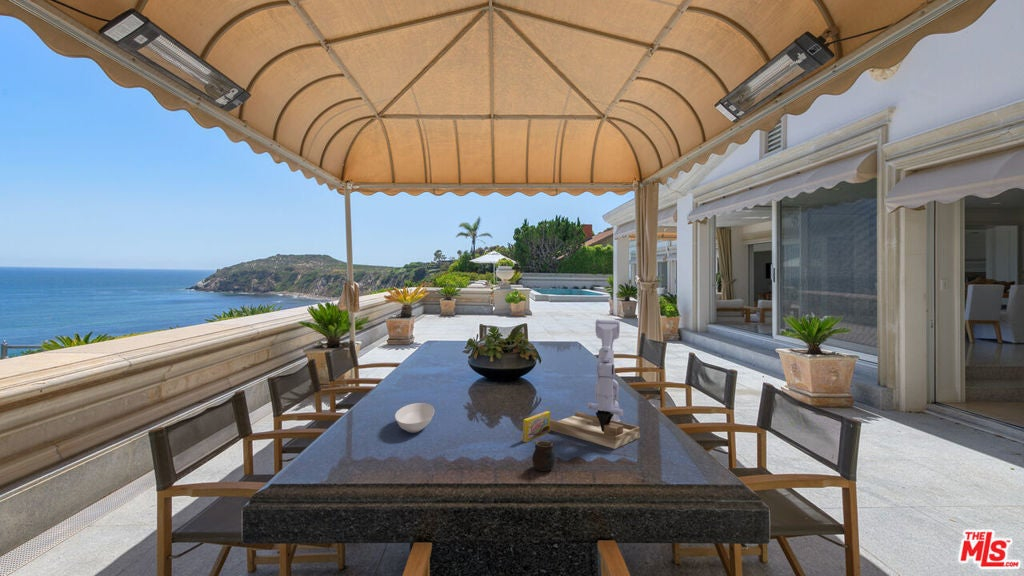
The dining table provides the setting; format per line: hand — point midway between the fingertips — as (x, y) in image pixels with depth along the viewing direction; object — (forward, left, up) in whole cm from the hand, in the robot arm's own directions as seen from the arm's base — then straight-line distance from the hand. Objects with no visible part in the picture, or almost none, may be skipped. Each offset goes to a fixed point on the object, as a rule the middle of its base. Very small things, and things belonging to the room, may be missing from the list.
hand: (604, 431), depth 173 cm
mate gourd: (+37, +2, -4) cm, 37 cm away
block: (0, +4, -1) cm, 4 cm away
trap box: (-4, -7, -3) cm, 9 cm away
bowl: (+42, -61, -4) cm, 75 cm away
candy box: (+15, -20, -4) cm, 26 cm away
